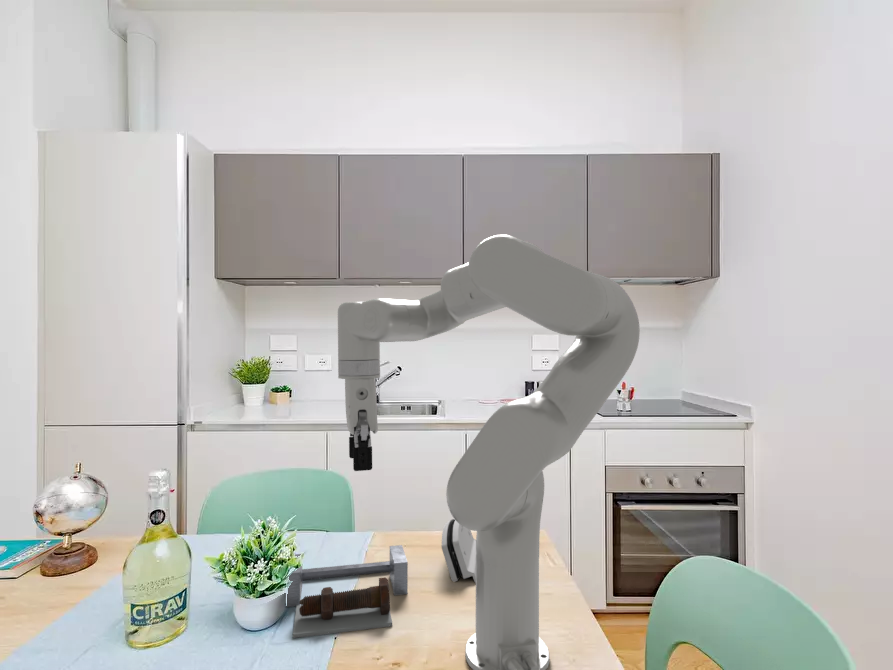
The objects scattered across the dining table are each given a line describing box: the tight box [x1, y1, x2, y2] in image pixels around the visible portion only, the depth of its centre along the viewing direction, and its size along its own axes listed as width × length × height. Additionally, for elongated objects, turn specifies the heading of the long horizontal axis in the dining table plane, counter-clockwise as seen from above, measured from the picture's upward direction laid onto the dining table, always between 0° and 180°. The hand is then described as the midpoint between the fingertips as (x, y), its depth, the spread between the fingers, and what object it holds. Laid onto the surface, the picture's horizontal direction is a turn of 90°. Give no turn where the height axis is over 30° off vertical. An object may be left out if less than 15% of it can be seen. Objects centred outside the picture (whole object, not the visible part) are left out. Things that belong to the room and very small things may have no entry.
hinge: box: [441, 518, 476, 583], centre depth 110 cm, size 17×5×10 cm, turn 173°
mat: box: [292, 605, 393, 639], centre depth 89 cm, size 9×16×1 cm, turn 103°
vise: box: [286, 544, 409, 608], centre depth 100 cm, size 11×22×6 cm, turn 102°
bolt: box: [299, 577, 391, 620], centre depth 89 cm, size 6×5×15 cm
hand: (360, 463), depth 94 cm, fingers open, 9 cm apart
